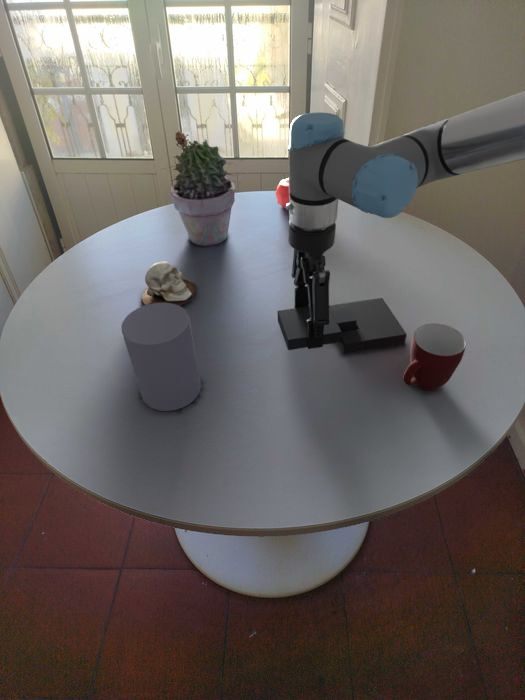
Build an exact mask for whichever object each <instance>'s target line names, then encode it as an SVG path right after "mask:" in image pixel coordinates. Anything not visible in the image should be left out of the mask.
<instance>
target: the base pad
mask: <svg viewBox="0 0 525 700" xmlns="http://www.w3.org/2000/svg"><path fill="white" fill-rule="evenodd" d="M329 308H330V310H331V311H334V310H340V309H347V308H350V309H351V311H352V313H353V315H354V317H355V318H356V320H357V322H356V330H350V331H343V332H341V341H340V342H337V343H338V345H339V347H340V349H341V351H342V354H343V355H346V354H353V353H359V352H364V351H370V350H376V349H383V348H384V349H385V348H390V347H396V346H402V345H405V344H406V339H407V333H406V330H404V328H403V327H402V325H401V323H400V322H399V320H398V319H397V318H396V316H395V314H394V313H393V312H392V310H391V309H390V307H389V305H388V304H387V303H386V301H385V299H384V298H383V297H377V298H371V299H365V300H356V301H351V302H344V303H337V304H329Z"/></svg>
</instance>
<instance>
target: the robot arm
mask: <svg viewBox="0 0 525 700" xmlns="http://www.w3.org/2000/svg"><path fill="white" fill-rule="evenodd" d="M344 126H345V125H344V121H343V119H342V118H341V117H340V116H339V115H337V114H335V113H331V112H324V111H323V112H320V111H319V112H318V111H317V112H316V111H315V112H307V113H303V114H301V115H298V116H297V117H296V116H295V118H294V119H293V120H292V122H291V123H290V128H289V137H288V138H289V140H288V148H287V151H288V179H289V200H290V204H286V208H285V210H286V211H288V218H289V222H288V243H289V245H290V247H291V248H292V249H293V255H292V265H291V266H292V268H291V277H292V279H293V285H294V307H293V308H300V307H306V306H309V311H310V318H308V320H306V322H307V324H308V335H307V347H306V348H307V349H308V350H310V349H317V348H323V345H322V344H323V330H324V325H329V305H330V279H331V272H330V270H329V269H326V270H325V267H326V256H325V255H324V254H325V253H326V252H327V251H329V250H330V249H331V248H332V247H333V246H334V244H335V240H336V230H337V224H336V221H337V220H338V208H339V206H338V205H339V201H341V202H343V203H345V204H347V205H350V206H352V207H355V208H356V209H358V210H360V211H361V212H363V213H366V214H369V215H370V214H371V215H374V216H377V217H380V218H384V219H391V218H394V217H397V216H398V215H401V213H402V212H403V210H404V209H405V207H408V206H409V205H410V203H411V202H412V200H413V198H414V196H415V194H416V191H417V189H418V188H420V187H422V186H425V185H427V184H431V183H433V182H436V181H439V180H444V179H448V178H451V177H457V176H460V175H463V174H466V173H470V172H475V171H479V170H483V169H488V168H492V167H497V166H501V165H505V164H510V163H514V162H519V161H522V160H525V90H524V91H521V92H519V93H515V94H513V95H510V96H507V97H503V98H501V99H499V100H496V101H493V102H489V103H487V104H485V105H482V106H478V107H476V108H473V109H471V110H467V111H465V112H462V113H460V114H456V115H454V116H452V117H449V118H446V119H442V120H438V121H435V122H432V123H430V124H427V125H425V126H422V127H420V128H417V129H415V130H413V131H409V132H408V133H405V134H403V135H398V136H396V137H394V138H391V139H387V140H385V141H382V142H379V143H376V144H375V145H374V144H373V145H371V146H370V145H364V144H361V143H357V142H354V141H352V140H349V139H347V138H344V136H345V130H344Z"/></svg>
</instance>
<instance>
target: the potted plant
mask: <svg viewBox="0 0 525 700" xmlns="http://www.w3.org/2000/svg"><path fill="white" fill-rule="evenodd" d="M188 136H189V134H188V133H187V134H186V135H185V133H184V132H182V131H180V130H179V131H177V132H175V140H176V142H177V143H176V146H177V147H178V148H180V150H182V151H183V152H181V153H180V155H177V154H176V156H174V159H177V161H178V162H176V161H174V165H172V166H171V168H173V167H175V168H174V169H173V171H177V172H178V175H176V176H175V177H174V178H173V180H171V182H175V183H174V184H173V185H172V186H171V188H170V196H171V199H172V204H173V206H174V209H175V210H176V211H177V212H178V214H179V216H180V218H181V221H182V223H183V226H184V228H185V230H186V233H187V235H188V238H189V240H190V241H191V243H193V244H194V245H198V246H204V247H205V246H212V245H218V244H220V243H223V242H224V241H225V240H226V239H227V238H228V234H229V228H230V227H229V226H230V220H231V214H232V208H233V205H234V203H235V201H236V200H235V197H236V196H237V195H238V193H237V192H238V191H237V190H236V189H235V182H234V181H233V180H231V178H228V177H226V176H227V175H228V176H233V177H235V175H234V174H231V173H229V172H228V170H226V169H224V166H225V165H227V164H229V166H230V165H233V162H231V161H230V160H228V161H227V160H226V159H225V158H224V157H222V156H221V155H220V153H219V146H217V145H216V146H211V145H210V144H209V142H208V140H207V139H206V138H205V139H204V141H202V142H199V141H198V140H195V139H194V140H193V141H191V140H189V138H188V139H187V137H188ZM201 143H202V144H201ZM234 165H236V166H237V164H234ZM168 168H170V167H169V166H168V167H167V169H168ZM165 169H166V167H164V168H163V170H165ZM160 170H162V168H160V169H159V171H160ZM237 183H238V184H240V181H239V182H237ZM235 192H236V193H237V194H235ZM235 195H236V196H235Z"/></svg>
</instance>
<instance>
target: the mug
mask: <svg viewBox="0 0 525 700" xmlns="http://www.w3.org/2000/svg"><path fill="white" fill-rule="evenodd" d="M466 348H467V341H466V338H465V337H464V335H463V334H462V333H461V332H460V331H459V330H458V329H456V328H454V327H453V326H450V325H447V324H443V323H427V324H423V325H421V326H418V327H417V328H416V329H415V331H414V332H413V336H412V339H411V343H410V351H409V352H410V354H409V355H410V358H409V359H410V361H409V362H410V363H409V365H408V366H407V367H406V369H405V371H404V373H403V377H402V380H403V383H404V384H405V385H407V386H409V387H414V386H417V387H418V388H419V389H421V390H422V391H426V392H433V391H434V392H435V391H436V390H439V389H440V388H441V387H443V386H444V385H445V384H447V383H448V382H449V381H450V379H451V377H452V376H453V374H454V373H455V371H456V369H457V368H458V367H459V365H460V363H461V362H462V359H463V358H464V354H465V351H466Z"/></svg>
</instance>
